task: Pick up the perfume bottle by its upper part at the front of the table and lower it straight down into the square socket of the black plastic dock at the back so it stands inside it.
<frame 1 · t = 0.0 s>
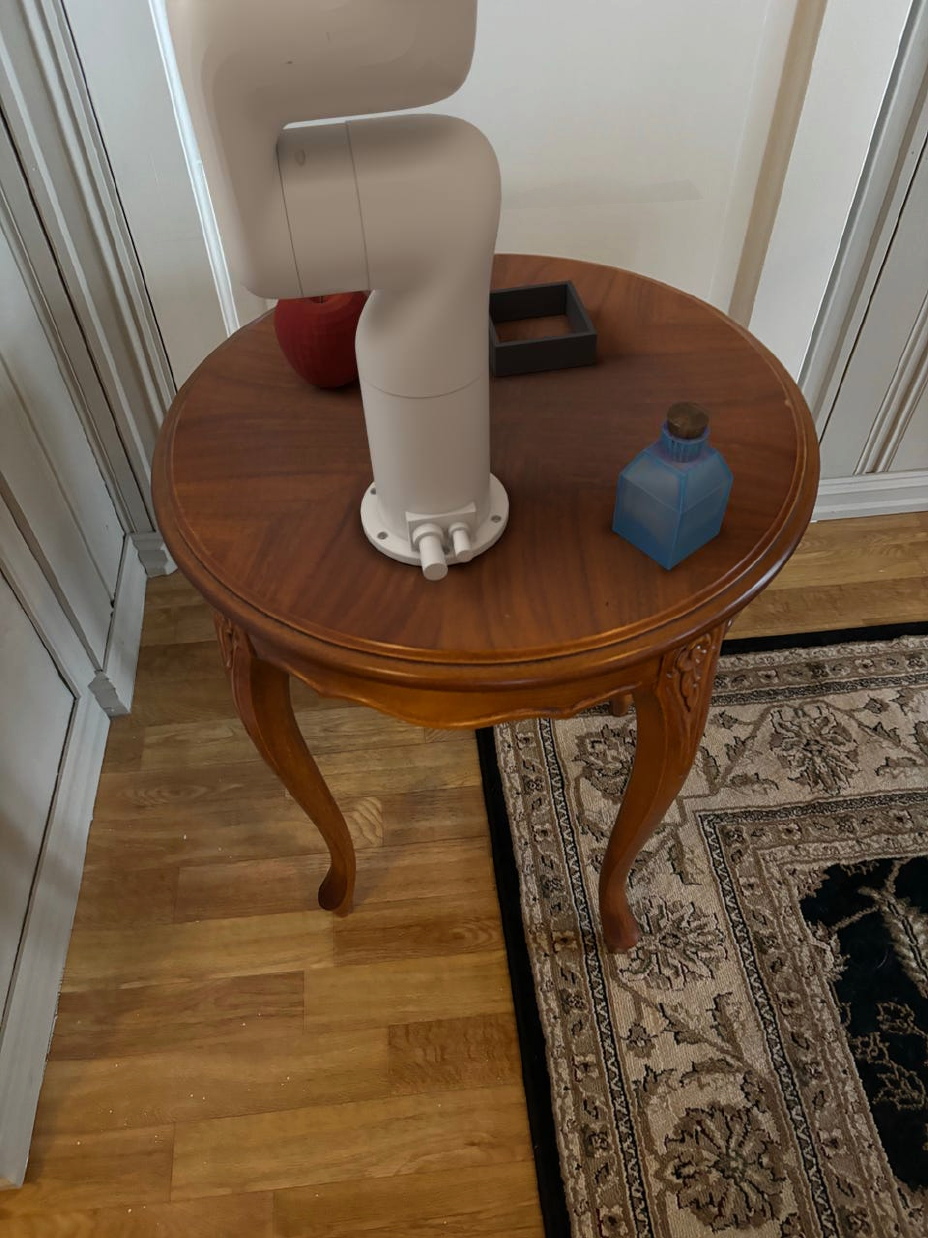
perfume bottle: (664, 533, 74), on the table
dock: (533, 342, 92), on the table
apple: (333, 377, 90), on the table
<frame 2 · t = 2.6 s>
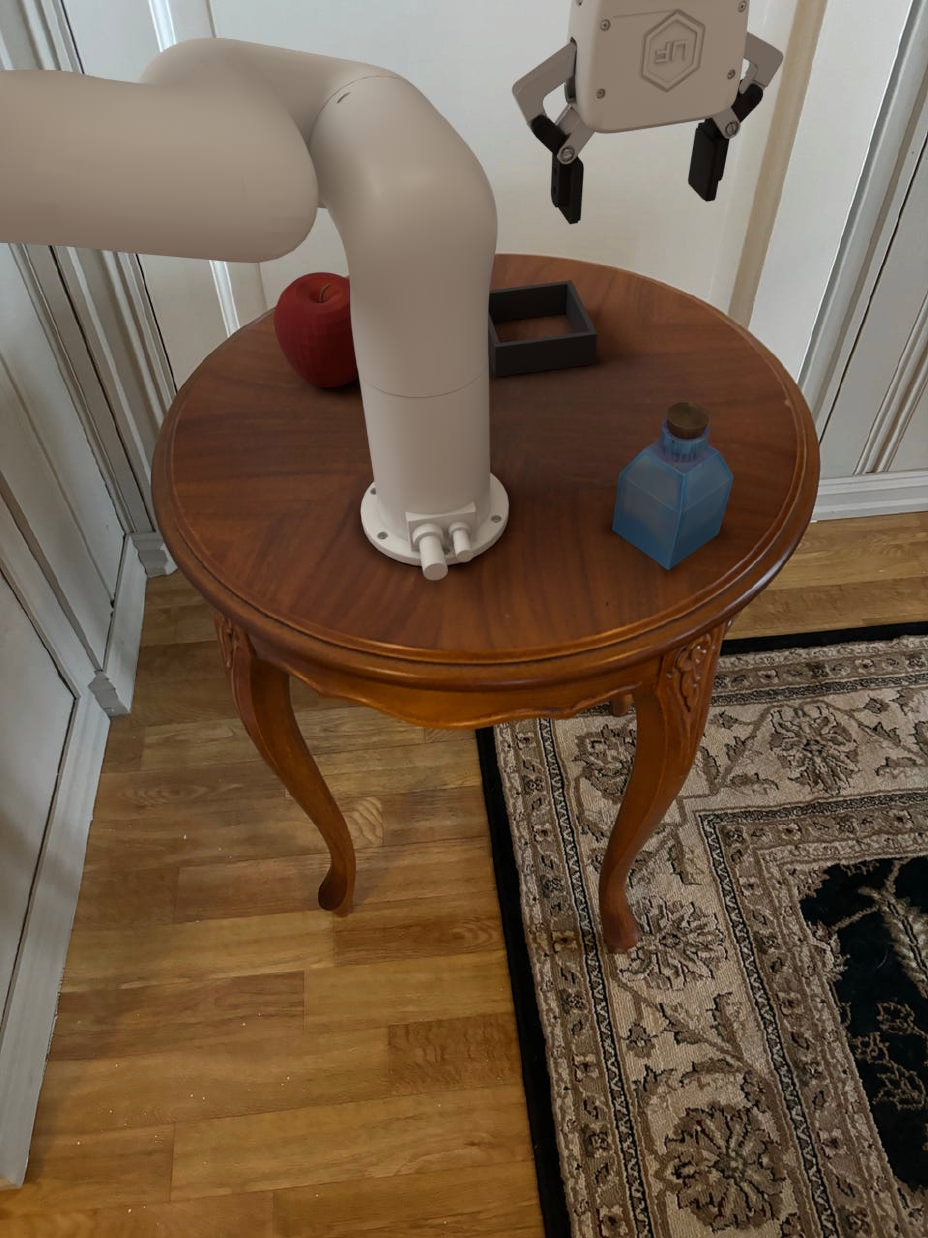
hand: (635, 203, 61), 24 cm above the table, tool pointing down, fingers open, 9 cm apart
nothing on the table moved.
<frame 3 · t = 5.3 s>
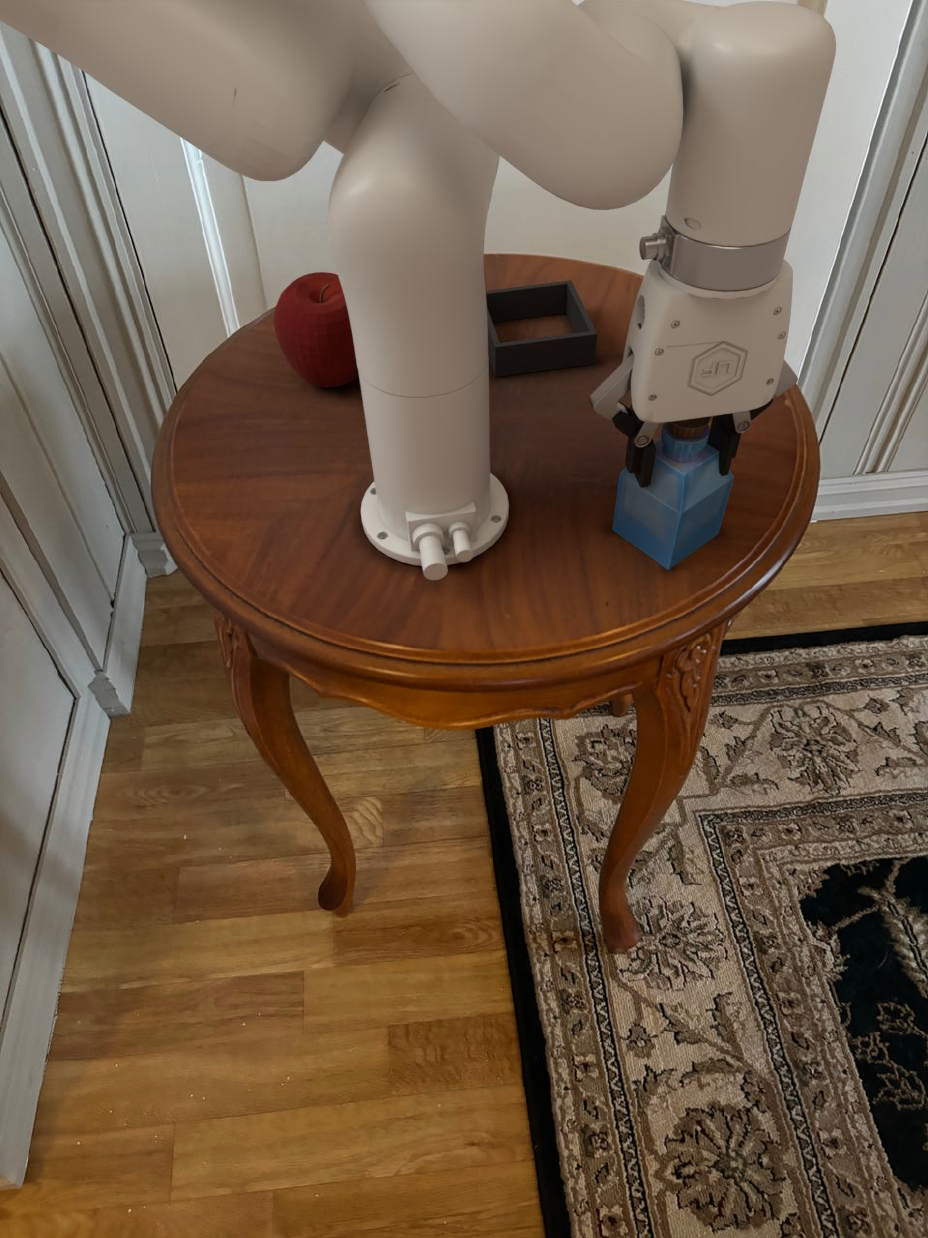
hand: (678, 468, 69), 7 cm above the table, tool pointing down, fingers closed on perfume bottle, 5 cm apart
perfume bottle: (664, 533, 74), on the table, touching gripper
everything else where it was.
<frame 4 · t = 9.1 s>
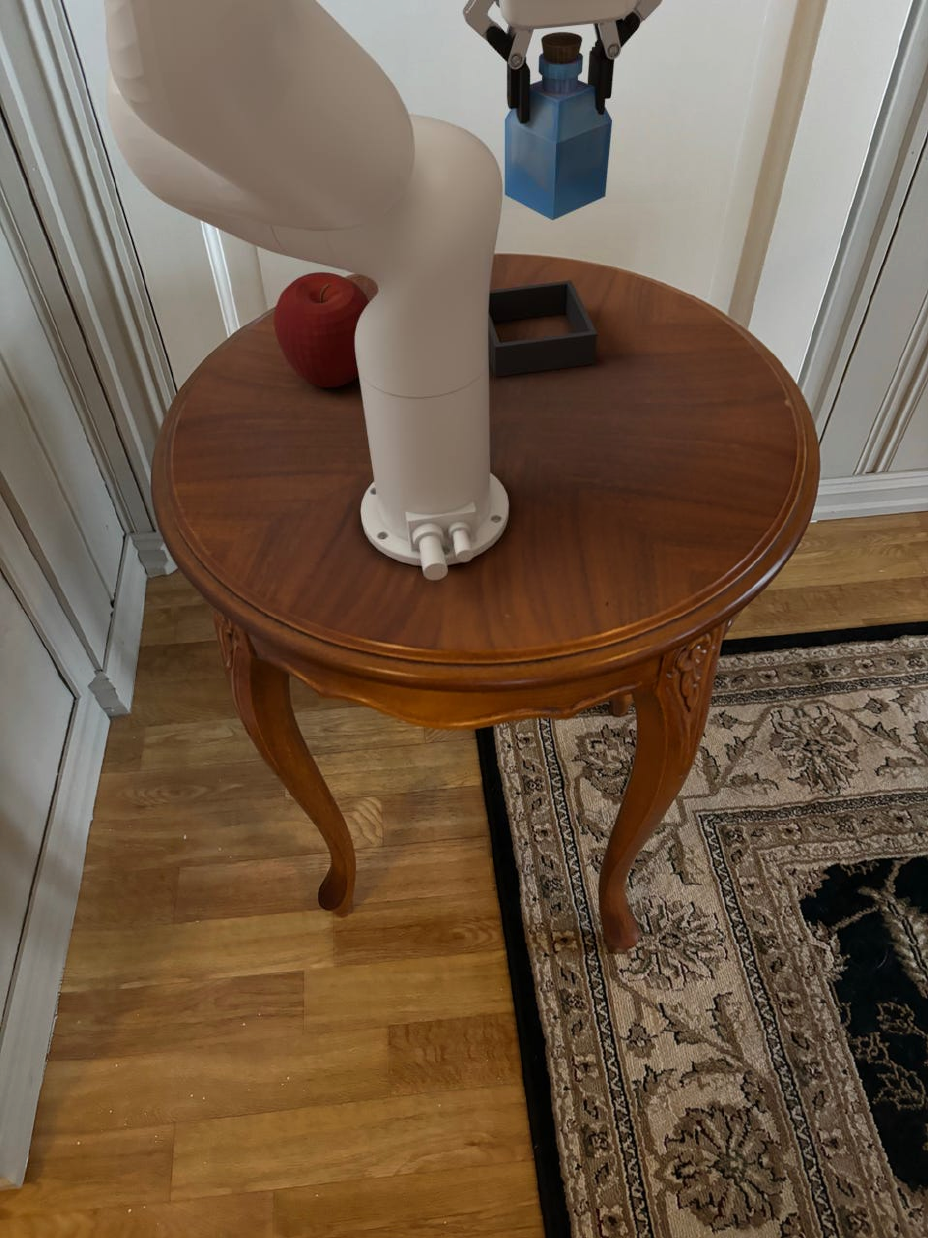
hand: (558, 110, 72), 23 cm above the table, tool pointing down, fingers closed on perfume bottle, 5 cm apart
perfume bottle: (554, 197, 78), point 16 cm above the table, touching gripper
everything else where it was.
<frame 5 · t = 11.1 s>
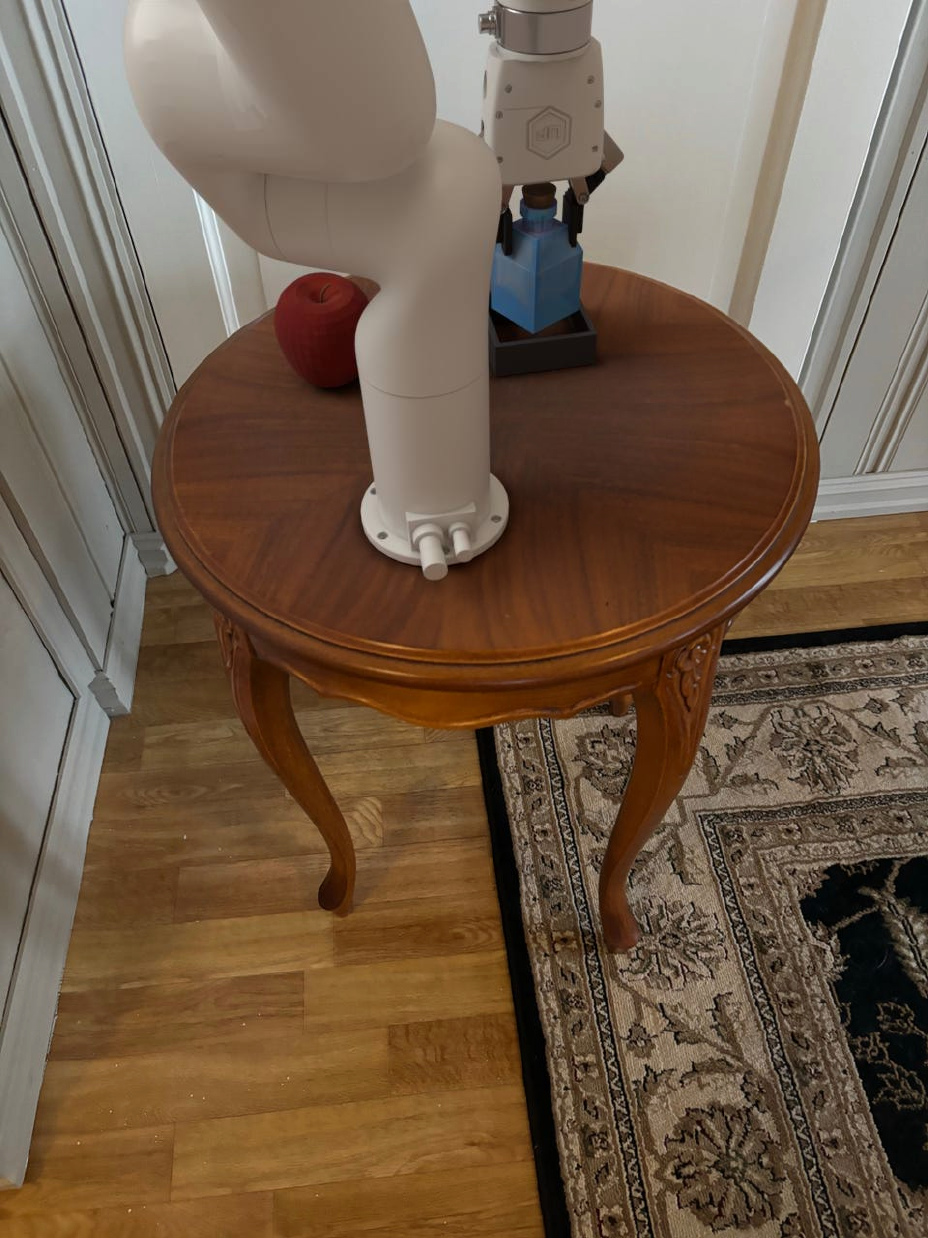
hand: (537, 242, 84), 11 cm above the table, tool pointing down, fingers closed on perfume bottle, 5 cm apart
perfume bottle: (535, 310, 89), point 4 cm above the table, touching gripper
everything else where it was.
when the fingers open (7 cm above the table, at t = 12.7 s): perfume bottle stays where it is, resting in dock.
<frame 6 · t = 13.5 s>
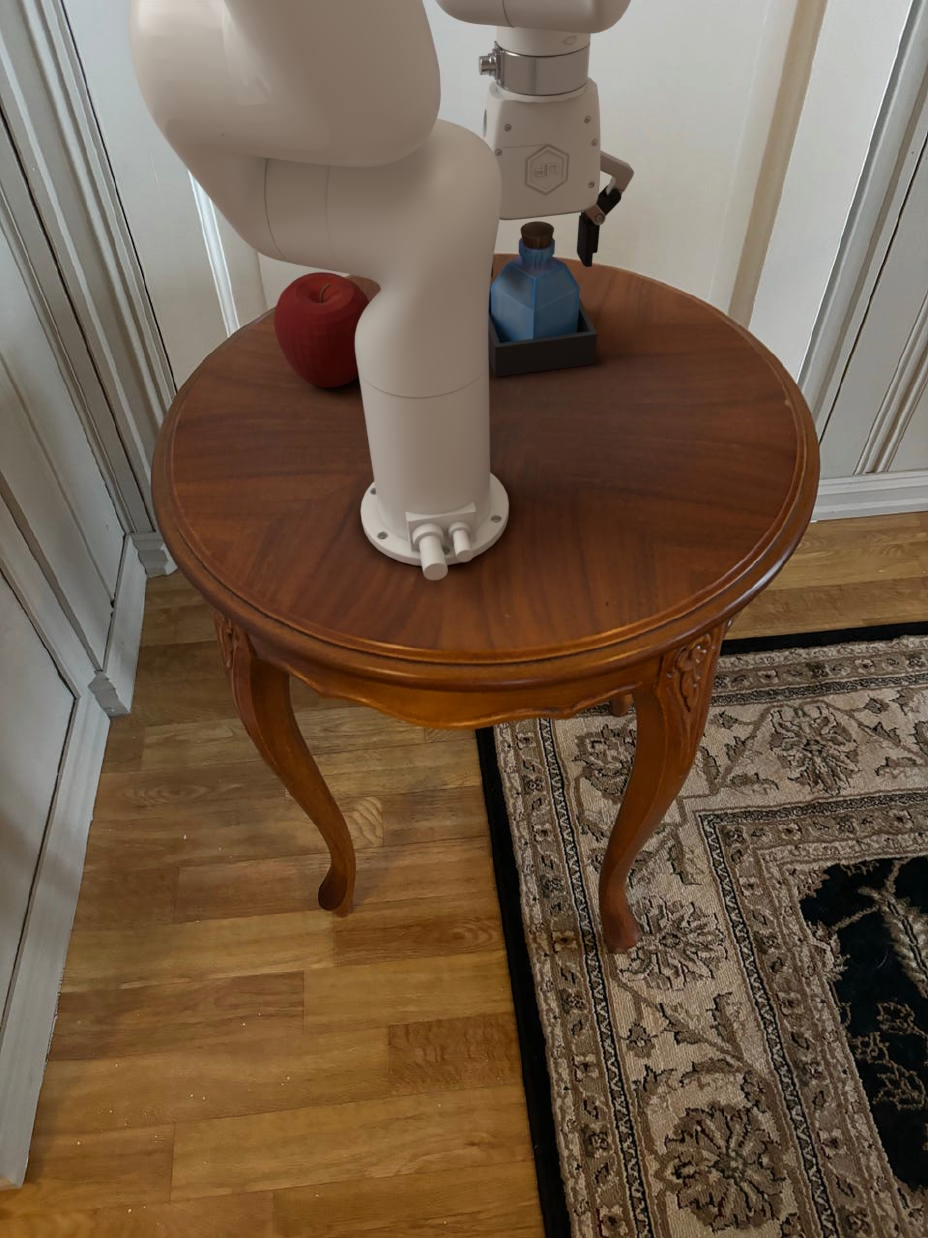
hand: (535, 265, 85), 9 cm above the table, tool pointing down, fingers open, 9 cm apart
perfume bottle: (533, 343, 92), resting in dock
everything else where it was.
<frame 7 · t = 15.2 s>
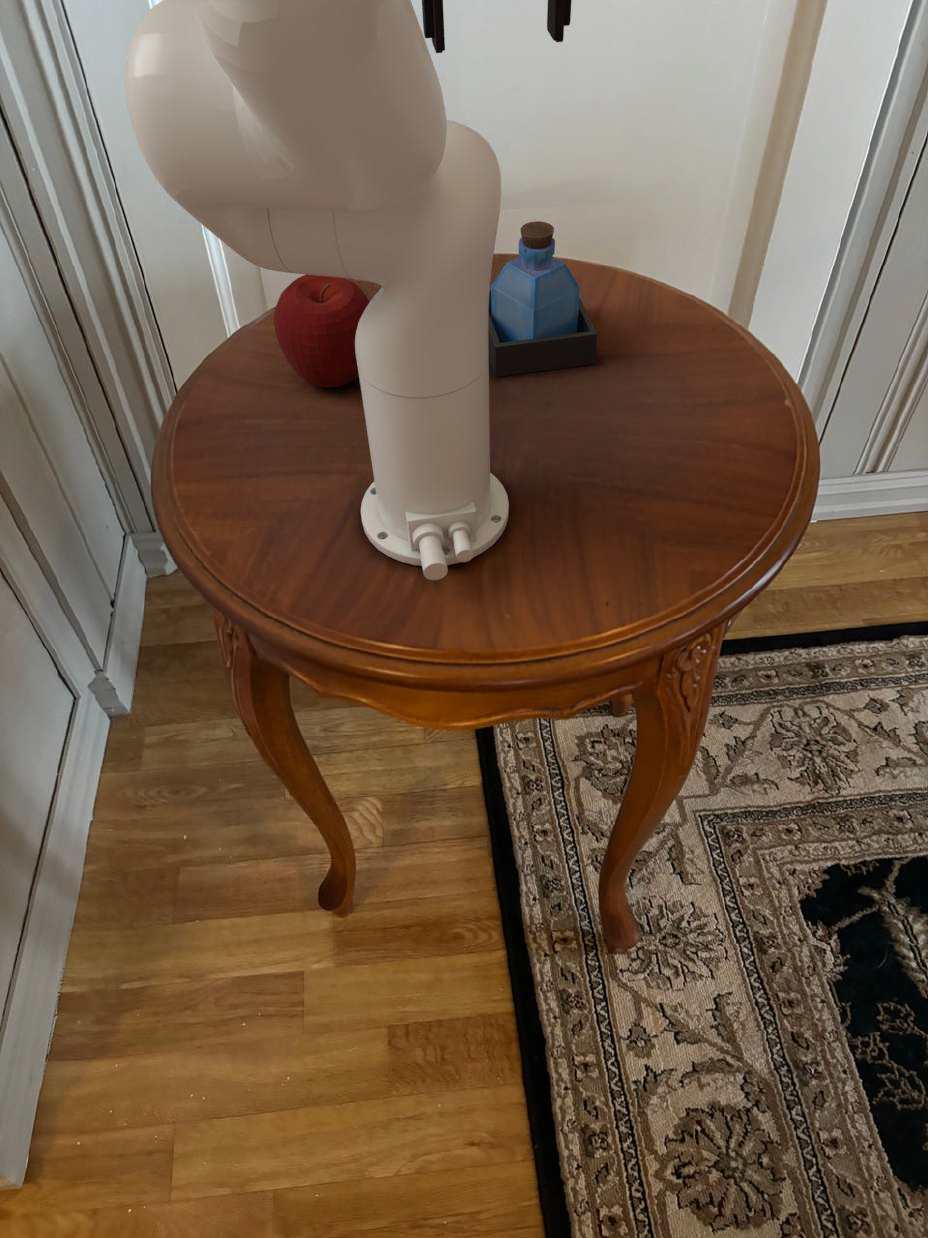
hand: (496, 41, 72), 27 cm above the table, tool pointing down, fingers open, 9 cm apart
nothing on the table moved.
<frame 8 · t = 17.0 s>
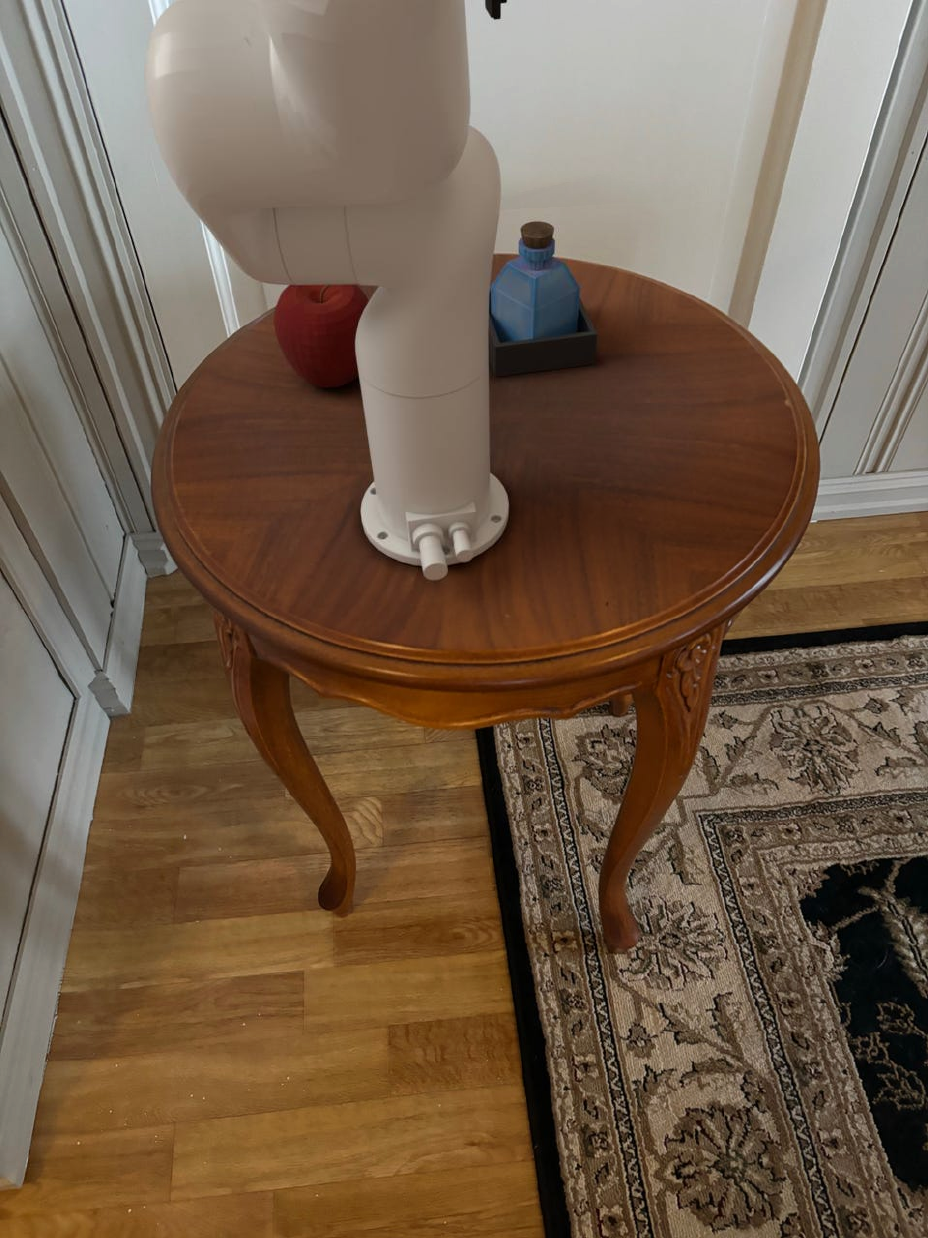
hand: (435, 19, 73), 28 cm above the table, tool pointing down, fingers open, 9 cm apart
nothing on the table moved.
at the end: perfume bottle 0.1 cm off-centre in the dock, point 0.0 cm above the dock's base; perfume bottle tilted 0°; the gripper is holding nothing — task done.
